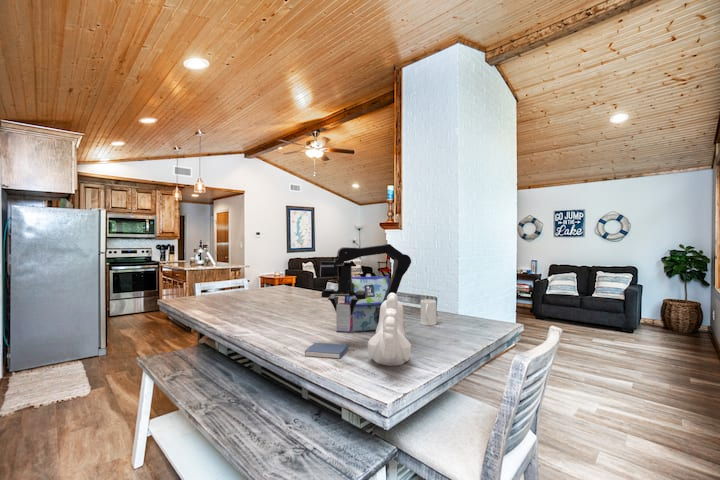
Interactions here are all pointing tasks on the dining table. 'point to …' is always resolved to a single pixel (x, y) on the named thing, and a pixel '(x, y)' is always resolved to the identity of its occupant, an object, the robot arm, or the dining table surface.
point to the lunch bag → (367, 301)
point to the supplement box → (344, 318)
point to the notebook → (326, 350)
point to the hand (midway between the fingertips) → (344, 314)
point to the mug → (428, 312)
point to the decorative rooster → (390, 335)
